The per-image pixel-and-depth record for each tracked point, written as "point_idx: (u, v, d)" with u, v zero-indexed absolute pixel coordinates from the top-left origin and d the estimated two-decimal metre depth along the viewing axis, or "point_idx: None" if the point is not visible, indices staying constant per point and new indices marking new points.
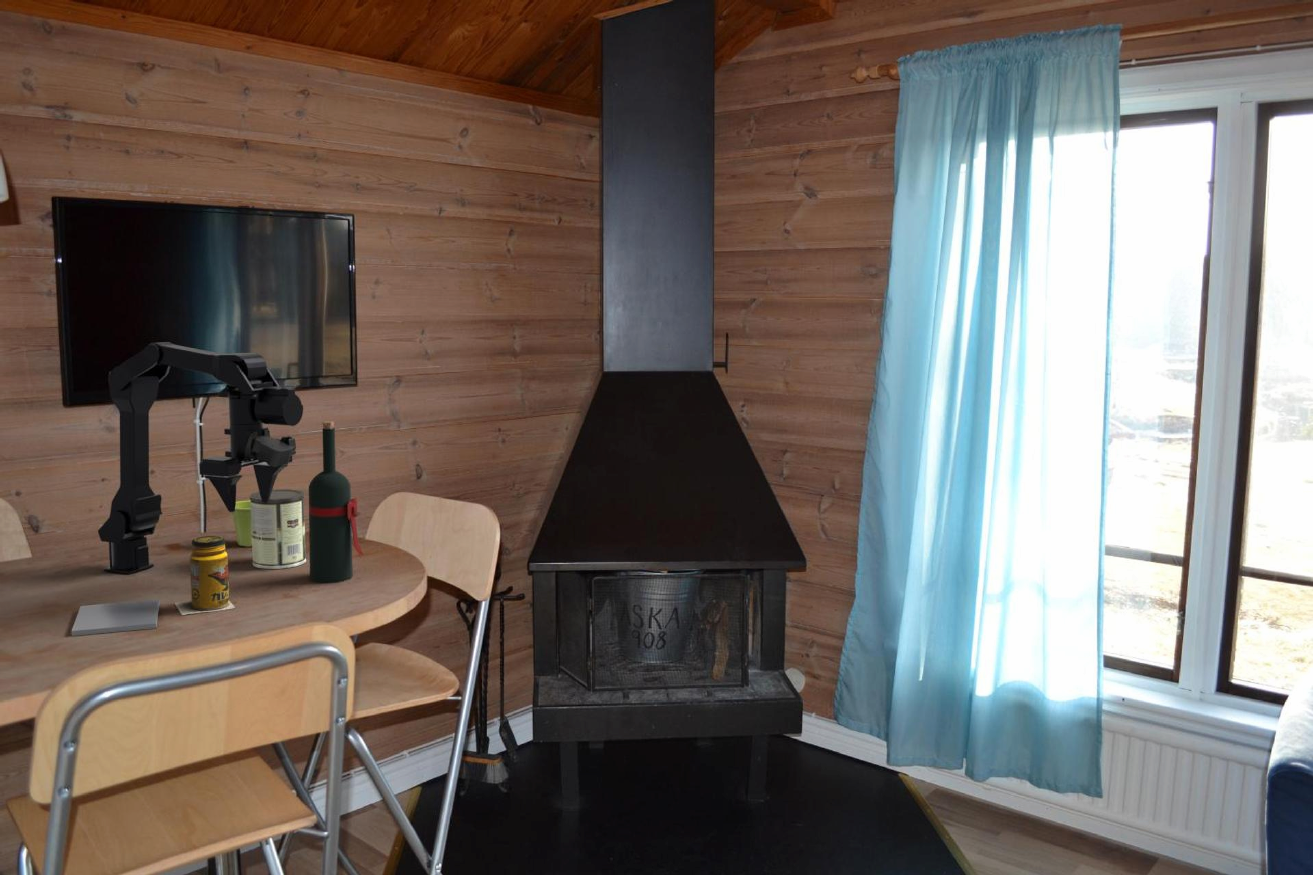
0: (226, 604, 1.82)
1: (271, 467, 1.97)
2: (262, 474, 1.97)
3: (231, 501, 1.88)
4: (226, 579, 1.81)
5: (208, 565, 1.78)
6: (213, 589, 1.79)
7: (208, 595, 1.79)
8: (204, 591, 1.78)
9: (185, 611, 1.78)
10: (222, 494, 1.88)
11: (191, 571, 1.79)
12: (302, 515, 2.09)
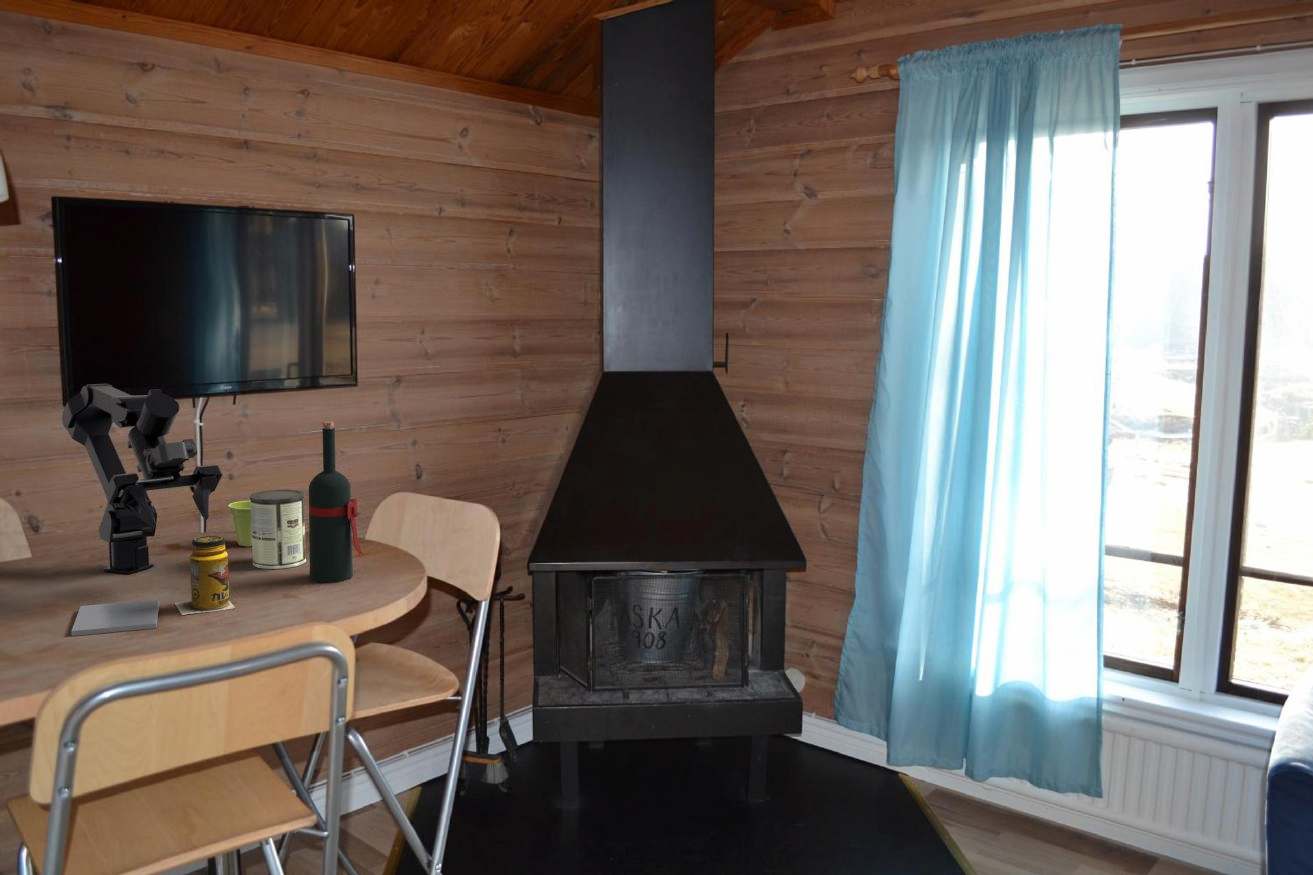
0: (226, 604, 1.82)
1: (199, 484, 1.91)
2: (197, 497, 1.91)
3: (146, 514, 1.82)
4: (226, 579, 1.81)
5: (208, 565, 1.78)
6: (213, 589, 1.79)
7: (208, 595, 1.79)
8: (204, 591, 1.78)
9: (185, 611, 1.78)
10: (140, 514, 1.83)
11: (191, 571, 1.79)
12: (302, 515, 2.09)
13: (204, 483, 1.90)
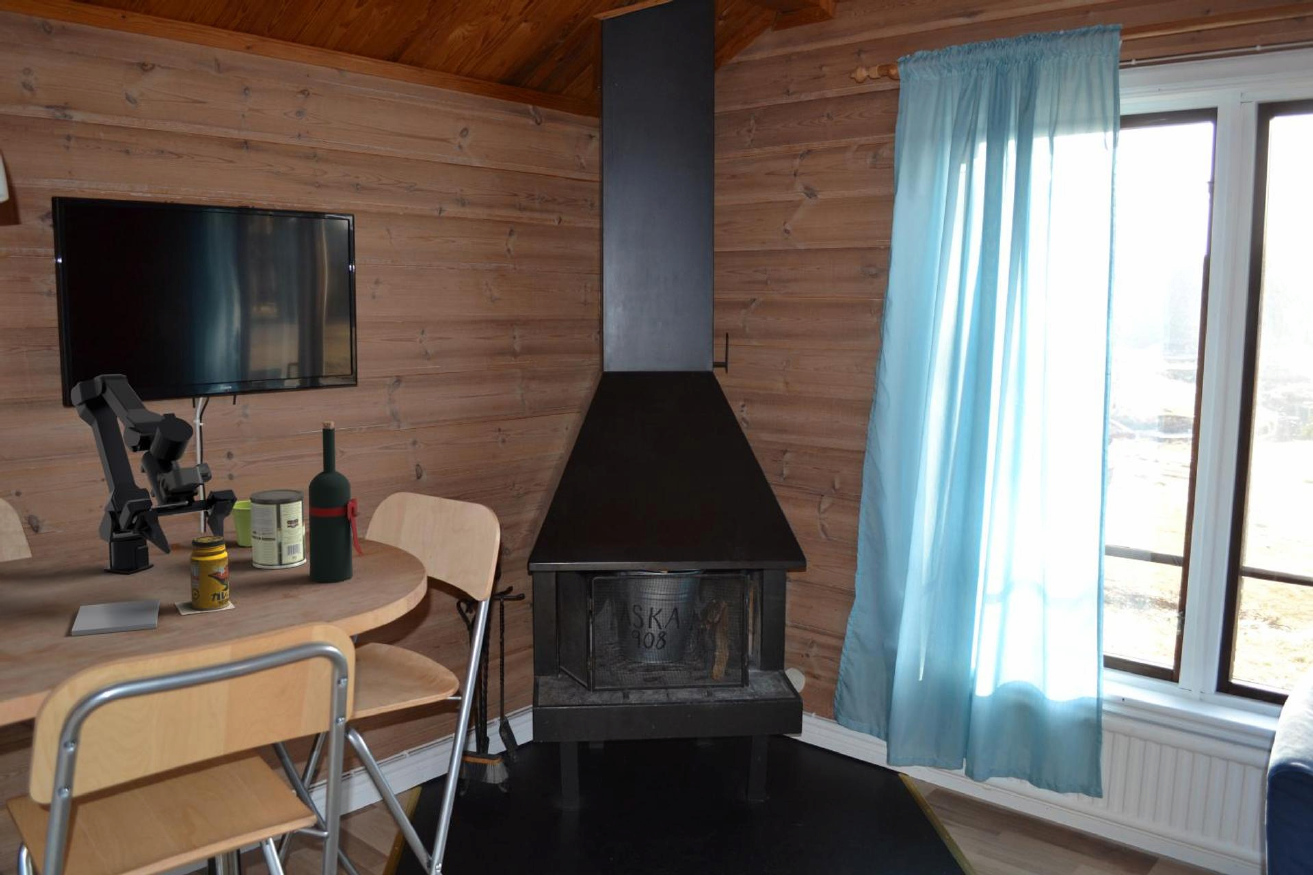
0: (226, 604, 1.82)
1: (213, 509, 1.88)
2: (212, 522, 1.88)
3: (161, 541, 1.79)
4: (226, 579, 1.81)
5: (208, 565, 1.78)
6: (213, 589, 1.79)
7: (208, 595, 1.79)
8: (204, 591, 1.78)
9: (185, 611, 1.78)
10: (154, 540, 1.80)
11: (191, 571, 1.79)
12: (302, 515, 2.09)
13: (219, 508, 1.87)
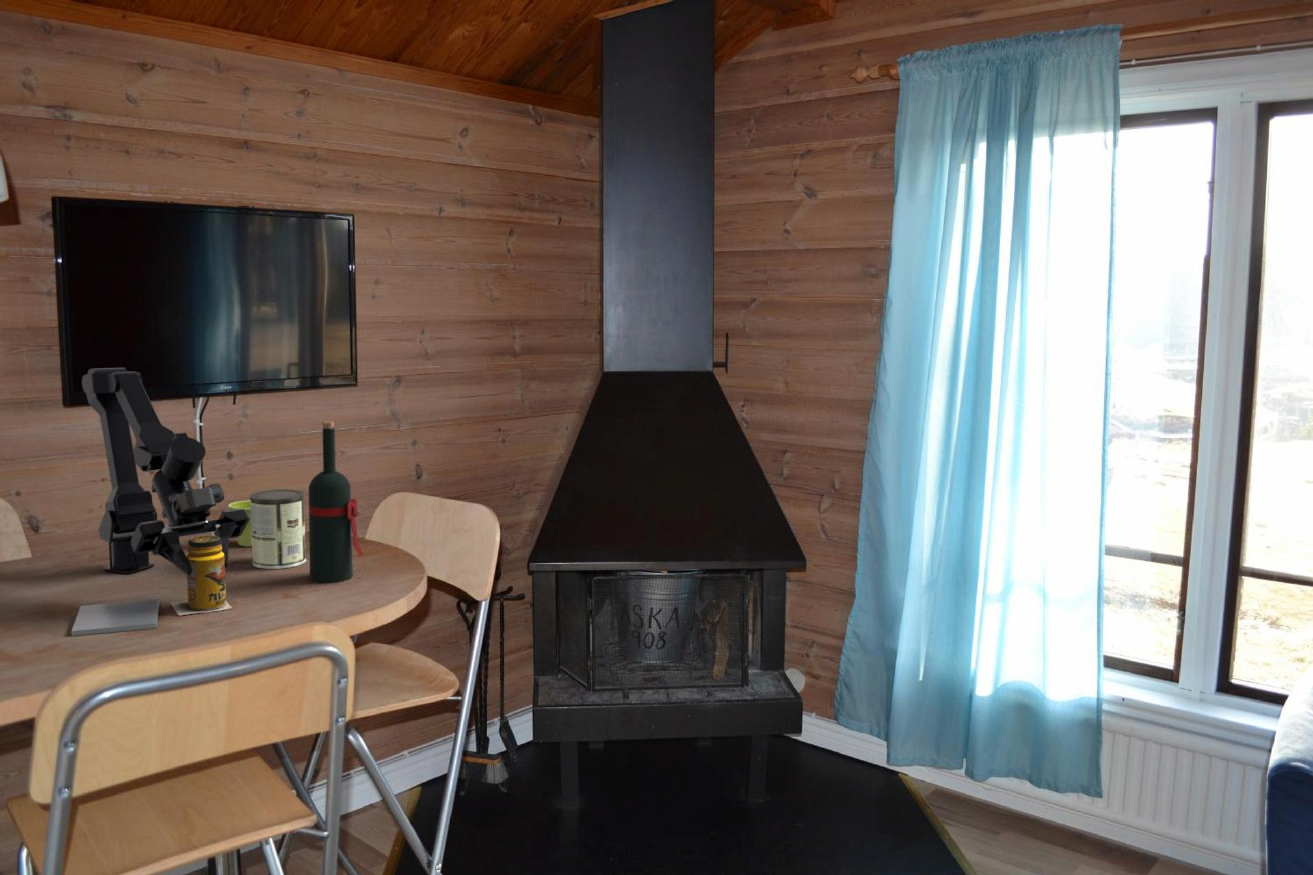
0: (223, 604, 1.81)
1: (217, 531, 1.84)
2: None
3: (182, 562, 1.77)
4: (223, 579, 1.81)
5: (205, 566, 1.78)
6: (209, 590, 1.78)
7: (204, 595, 1.78)
8: (200, 591, 1.78)
9: (182, 611, 1.78)
10: (175, 561, 1.78)
11: None
12: (302, 515, 2.09)
13: (223, 530, 1.84)
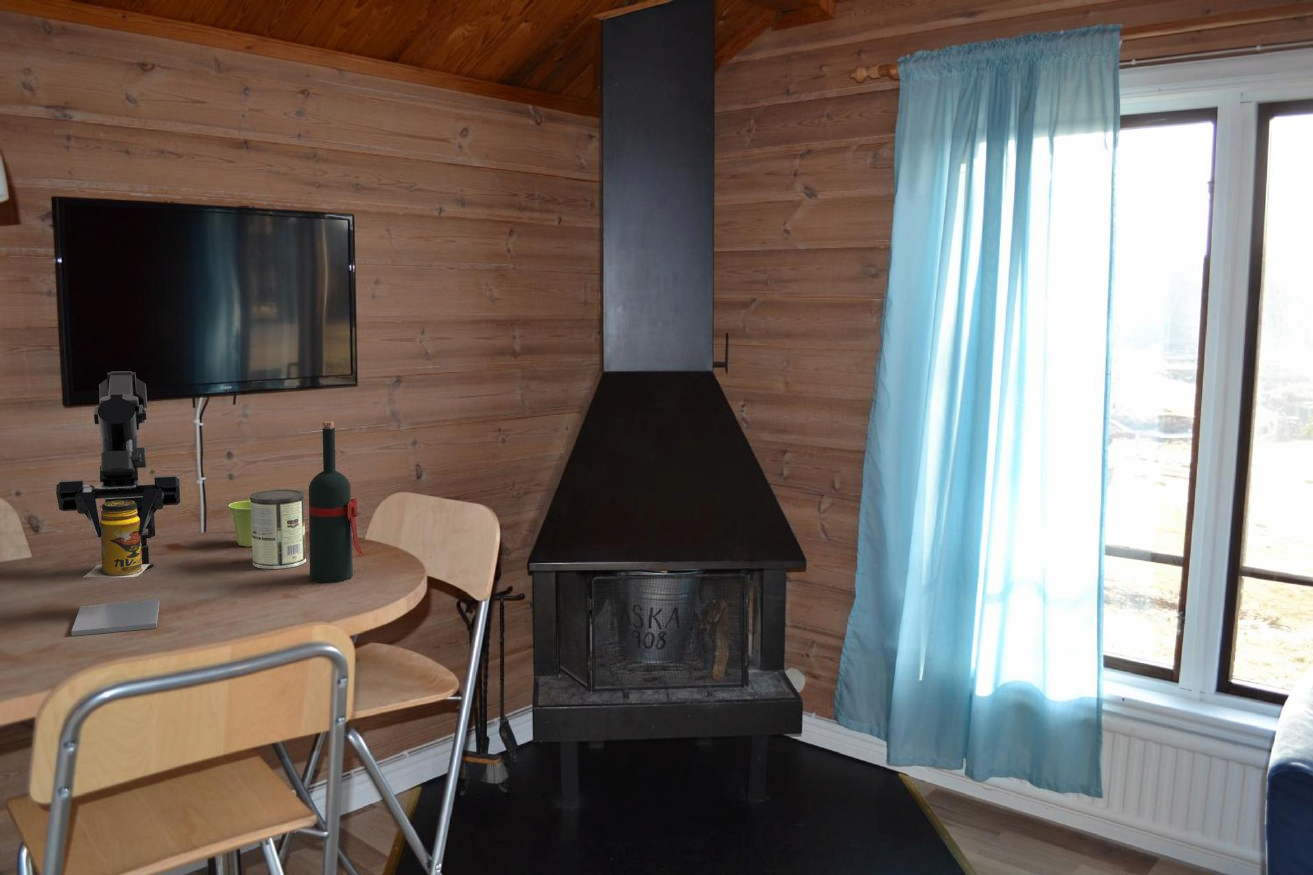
0: (133, 572, 1.77)
1: None
2: None
3: (93, 523, 1.75)
4: (133, 546, 1.76)
5: (110, 530, 1.74)
6: (115, 555, 1.75)
7: (110, 560, 1.75)
8: (107, 555, 1.75)
9: (91, 574, 1.76)
10: (91, 522, 1.77)
11: None
12: (302, 515, 2.09)
13: (146, 495, 1.79)
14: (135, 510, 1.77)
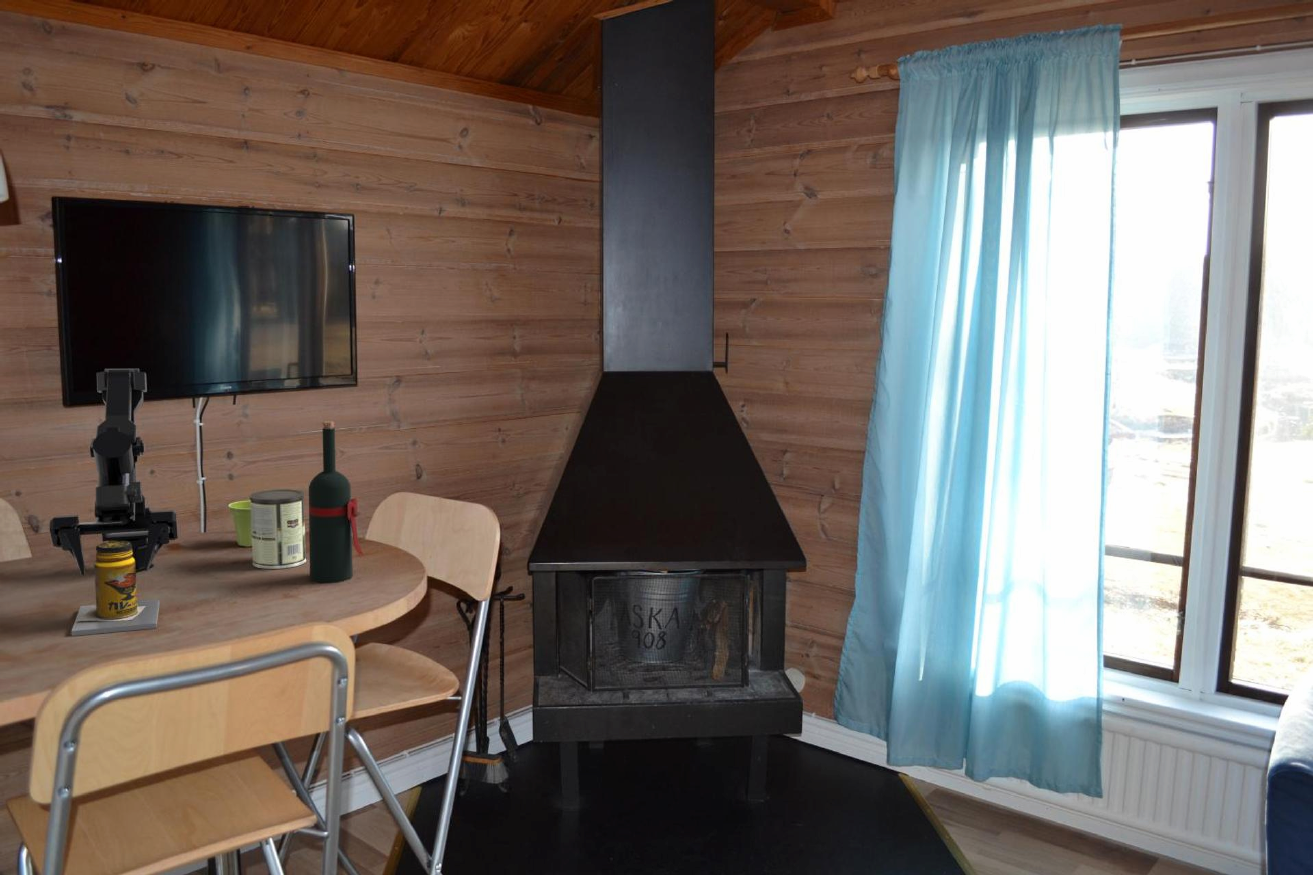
0: (128, 615, 1.72)
1: None
2: None
3: (77, 561, 1.70)
4: (128, 588, 1.71)
5: (104, 572, 1.69)
6: (109, 598, 1.70)
7: (104, 603, 1.70)
8: (101, 598, 1.70)
9: (85, 617, 1.71)
10: (76, 560, 1.71)
11: None
12: (302, 515, 2.09)
13: (151, 530, 1.75)
14: (130, 551, 1.72)
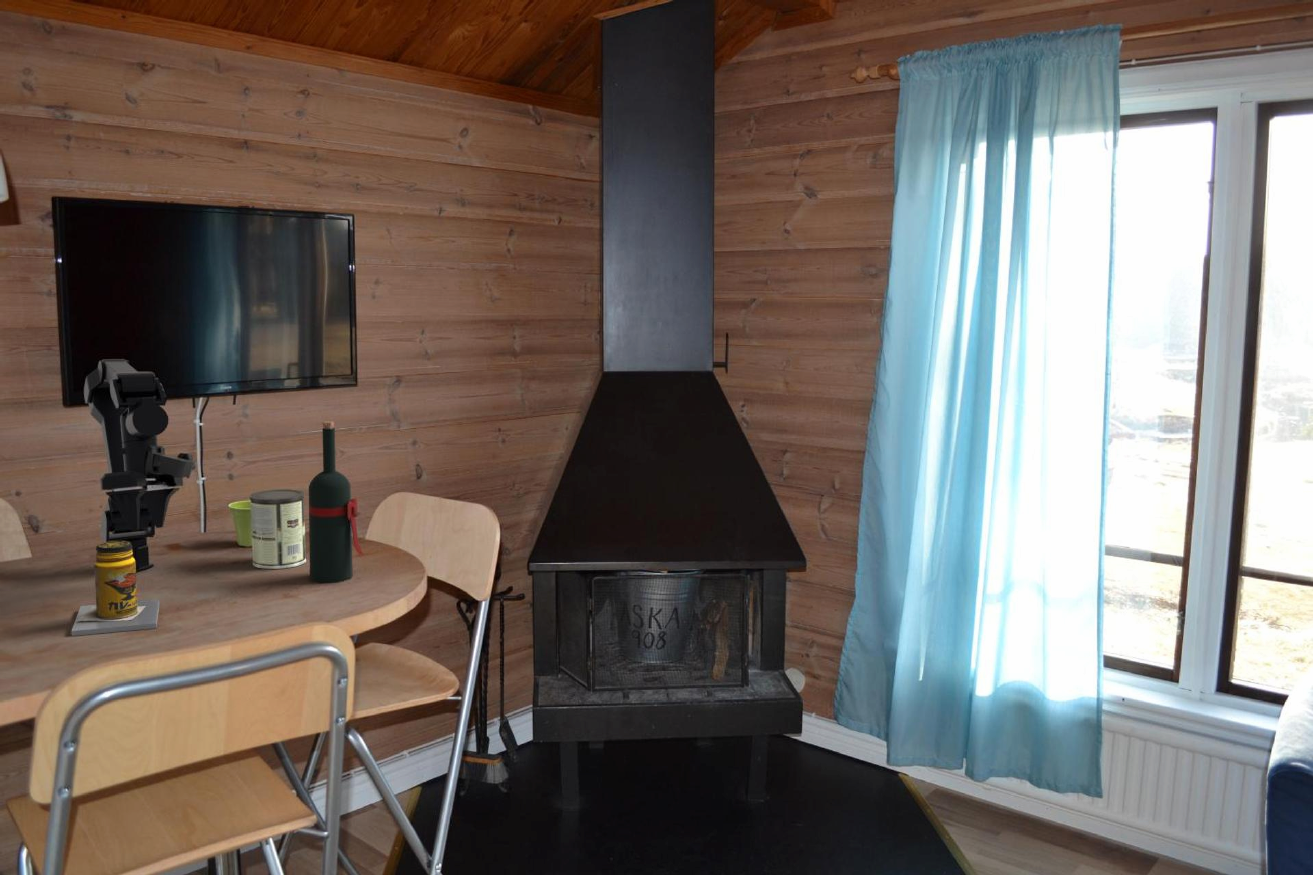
0: (128, 615, 1.72)
1: (164, 490, 1.93)
2: (154, 499, 1.93)
3: (135, 518, 1.82)
4: (128, 588, 1.71)
5: (104, 572, 1.69)
6: (110, 598, 1.70)
7: (104, 603, 1.70)
8: (101, 598, 1.70)
9: (85, 617, 1.71)
10: (124, 511, 1.82)
11: None
12: (302, 515, 2.09)
13: (171, 493, 1.93)
14: (130, 551, 1.72)
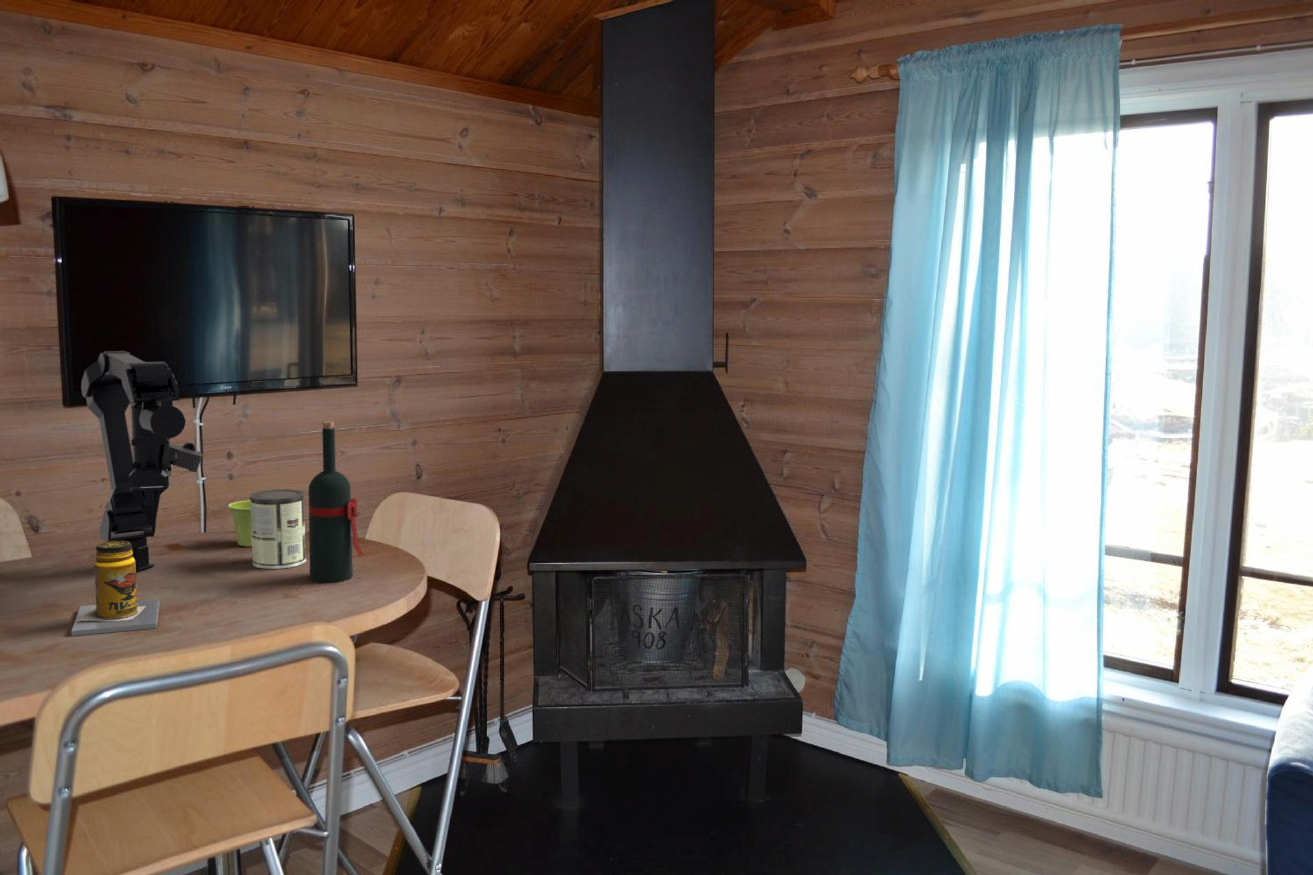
0: (128, 615, 1.72)
1: None
2: None
3: (155, 512, 1.85)
4: (128, 588, 1.71)
5: (104, 572, 1.69)
6: (109, 598, 1.70)
7: (104, 603, 1.70)
8: (101, 598, 1.70)
9: (85, 617, 1.71)
10: (145, 506, 1.84)
11: None
12: (302, 515, 2.09)
13: None
14: (130, 551, 1.72)
